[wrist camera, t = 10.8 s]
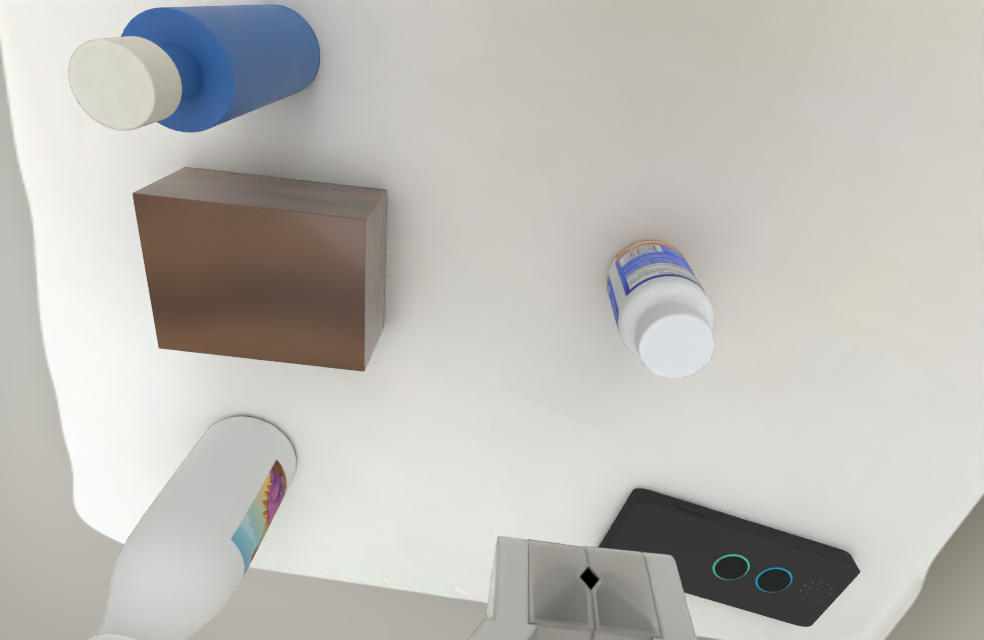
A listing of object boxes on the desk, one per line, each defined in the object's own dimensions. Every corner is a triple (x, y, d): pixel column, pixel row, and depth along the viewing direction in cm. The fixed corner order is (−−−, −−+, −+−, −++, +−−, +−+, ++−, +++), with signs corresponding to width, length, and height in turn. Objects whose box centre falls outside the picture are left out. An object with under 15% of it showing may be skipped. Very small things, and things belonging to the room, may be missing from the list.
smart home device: (808, 631, 54) (596, 569, 52) (800, 614, 56) (594, 553, 53) (865, 569, 50) (639, 500, 48) (855, 552, 52) (636, 484, 50)
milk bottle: (186, 450, 51) (1, 694, 33) (238, 395, 48) (66, 630, 30) (264, 502, 53) (130, 758, 35) (318, 453, 50) (202, 703, 32)
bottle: (253, 36, 38) (111, -229, 23) (331, 44, 38) (238, -215, 23) (208, 245, 35) (14, 92, 20) (292, 254, 35) (159, 107, 20)
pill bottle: (665, 322, 43) (700, 403, 34) (593, 298, 42) (609, 375, 34) (702, 252, 41) (749, 321, 32) (625, 226, 40) (651, 289, 31)
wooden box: (184, 166, 40) (131, 193, 34) (387, 189, 40) (365, 219, 34) (202, 306, 44) (158, 348, 39) (384, 327, 44) (364, 371, 39)
